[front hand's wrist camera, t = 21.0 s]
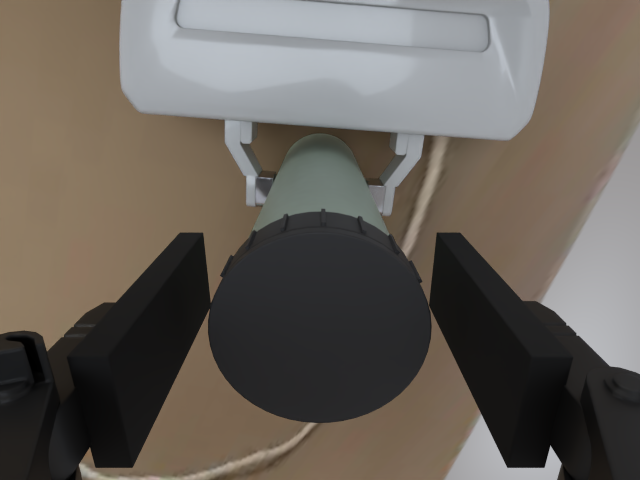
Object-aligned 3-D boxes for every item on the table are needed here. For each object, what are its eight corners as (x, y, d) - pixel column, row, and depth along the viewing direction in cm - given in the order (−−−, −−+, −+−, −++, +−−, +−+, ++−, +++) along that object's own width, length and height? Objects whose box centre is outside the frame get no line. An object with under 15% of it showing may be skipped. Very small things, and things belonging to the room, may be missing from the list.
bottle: (289, 126, 28) (233, 211, 10) (364, 141, 28) (442, 248, 10) (277, 199, 30) (212, 384, 12) (348, 212, 30) (390, 410, 12)
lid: (449, 337, 12) (468, 374, 11) (282, 408, 13) (277, 452, 12) (366, 170, 11) (374, 185, 9) (180, 267, 12) (158, 296, 10)
